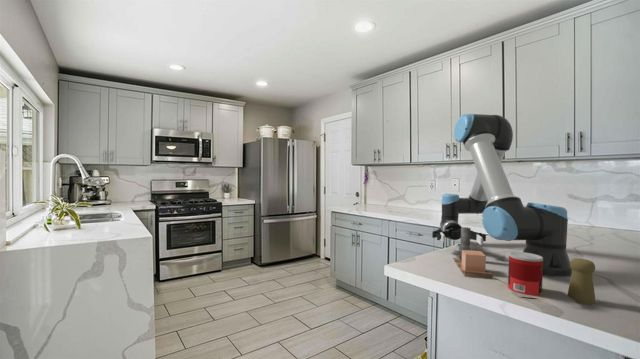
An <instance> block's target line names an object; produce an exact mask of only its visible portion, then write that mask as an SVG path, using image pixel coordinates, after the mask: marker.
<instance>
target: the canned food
mask: <svg viewBox="0 0 640 359" xmlns="http://www.w3.org/2000/svg"><path fill="white" fill-rule="evenodd" d="M508 254H509V255H508V272H507V274H508V277H507V278H508V279H507V280H508V281H507V288H508V289H509V290H510V291H513V292H515V293H518V294H520V295H527V297H526V296H518V297H519V298H521V299H525V300H526V299H527V300H539V299H540V298H535V297H528V296H541V295H542V294H543V280H544V279H543V278H544V276H543V275H544V274H543V257H541V256H539V255H536V254H531V253H525V252H523V251H511V252H509V253H508Z"/></svg>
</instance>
